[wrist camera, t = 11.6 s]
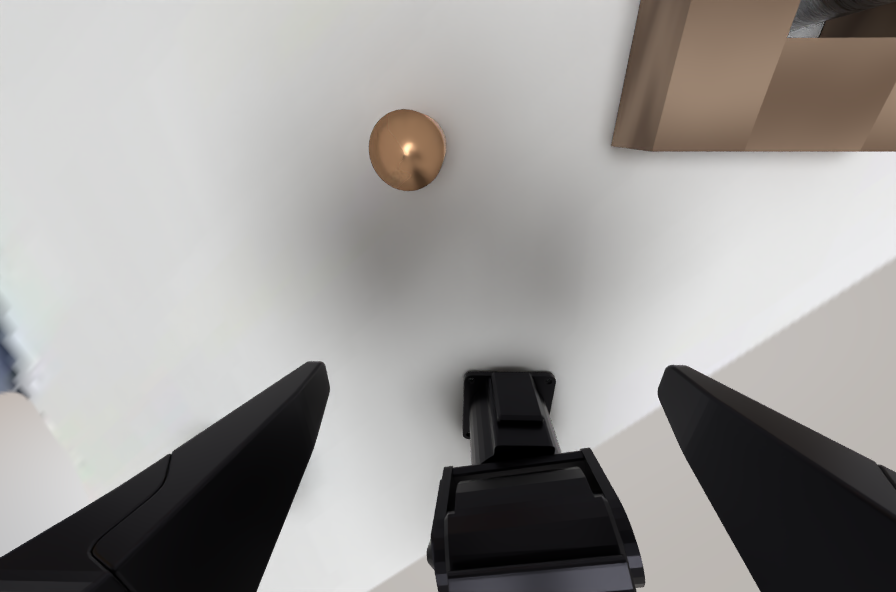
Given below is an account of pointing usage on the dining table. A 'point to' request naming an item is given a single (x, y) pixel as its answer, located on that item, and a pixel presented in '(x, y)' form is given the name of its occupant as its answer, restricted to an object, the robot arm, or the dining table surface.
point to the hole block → (757, 79)
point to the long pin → (830, 10)
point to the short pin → (407, 149)
